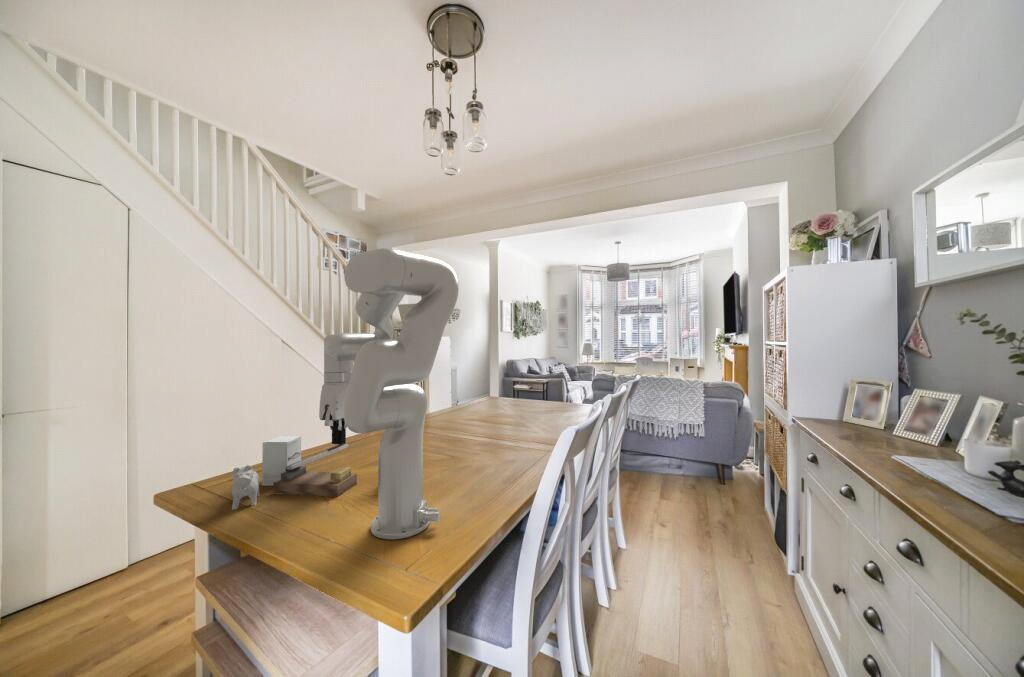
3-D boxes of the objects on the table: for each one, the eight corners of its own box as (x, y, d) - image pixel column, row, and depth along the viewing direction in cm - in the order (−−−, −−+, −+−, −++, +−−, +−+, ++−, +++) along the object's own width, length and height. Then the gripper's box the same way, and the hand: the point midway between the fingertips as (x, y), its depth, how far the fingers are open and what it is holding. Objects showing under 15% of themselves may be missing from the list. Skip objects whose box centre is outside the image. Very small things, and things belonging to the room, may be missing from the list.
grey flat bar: (349, 447, 102) (347, 440, 102) (339, 451, 98) (337, 445, 98) (298, 467, 104) (296, 460, 104) (286, 472, 100) (284, 466, 100)
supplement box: (286, 486, 103) (286, 442, 103) (261, 486, 103) (261, 442, 103) (302, 476, 110) (302, 435, 110) (278, 476, 110) (278, 435, 111)
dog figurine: (228, 517, 85) (228, 471, 85) (236, 497, 95) (236, 457, 96) (255, 511, 87) (255, 467, 87) (260, 492, 98) (260, 453, 98)
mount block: (356, 483, 104) (356, 465, 104) (337, 496, 95) (337, 476, 95) (297, 481, 106) (297, 462, 107) (273, 493, 98) (273, 473, 98)
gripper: (342, 375, 109) (342, 436, 108) (308, 380, 94) (307, 450, 93) (365, 375, 108) (365, 437, 107) (334, 380, 93) (334, 451, 92)
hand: (338, 443), depth 100 cm, fingers closed
